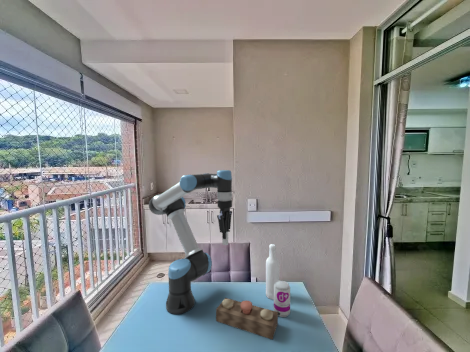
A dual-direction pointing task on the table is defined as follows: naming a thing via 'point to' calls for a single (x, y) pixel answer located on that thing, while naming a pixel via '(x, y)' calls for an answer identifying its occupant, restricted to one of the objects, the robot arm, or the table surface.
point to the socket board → (247, 319)
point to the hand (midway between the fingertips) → (225, 244)
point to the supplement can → (282, 298)
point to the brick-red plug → (246, 307)
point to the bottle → (271, 271)
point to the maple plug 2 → (266, 314)
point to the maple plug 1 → (227, 303)
